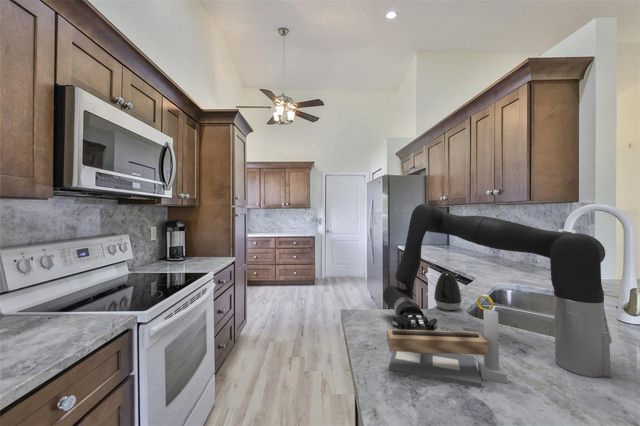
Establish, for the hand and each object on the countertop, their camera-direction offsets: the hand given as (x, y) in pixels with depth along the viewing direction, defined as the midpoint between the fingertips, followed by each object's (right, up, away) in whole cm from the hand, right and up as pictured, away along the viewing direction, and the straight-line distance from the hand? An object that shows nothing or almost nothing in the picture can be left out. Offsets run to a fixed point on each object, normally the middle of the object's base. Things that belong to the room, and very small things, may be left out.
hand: (423, 336), depth 71 cm
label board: (+5, -7, -1) cm, 9 cm away
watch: (+41, -8, +43) cm, 60 cm away
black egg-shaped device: (+27, -8, +45) cm, 53 cm away
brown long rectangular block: (+2, -1, -3) cm, 4 cm away
